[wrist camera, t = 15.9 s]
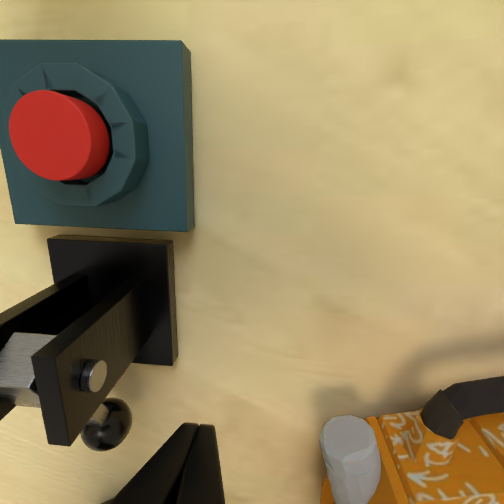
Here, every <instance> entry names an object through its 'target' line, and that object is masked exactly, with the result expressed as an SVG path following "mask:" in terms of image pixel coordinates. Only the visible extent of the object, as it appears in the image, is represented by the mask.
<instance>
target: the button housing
mask: <svg viewBox="0 0 504 504" xmlns="http://www.w3.org/2000/svg"><path fill="white" fill-rule="evenodd" d="M37 90H50V91H54V92H57V93H60V94H63V95H67V96H70V97H73V98H76V99H79V100H81V101H83V102H85V103H87V104H88V105H90V106H91V107H92V108H93V109H94V110H95V111H96V112H97V113H98V114H99V115H100V117H101V118H102V120H103V122H104V124H105V126H106V128H107V131H108V134H109V140H110V149H109V155H108V158H107V161H106V163H105V164H104V166H103V167H102V169H101V170H100V171H99V172H97V173H96V174H95V175H93V176H91V177H88V178H84V179H76V180H64V181H54V180H49V179H45V178H43V177H40V176H39V175H37V174H35V173H34V172H32V171H31V170H30V169H28V168H27V167H26V166H25V165H24V164H23V163H22V161H21V160H20V159H19V157H18V156H17V154H16V152H15V150H14V148H13V145H12V143H11V139H10V133H9V120H10V116H11V112H12V110H13V108H14V106H15V104H16V103H17V102H18V100H19V99H21V98H22V97H23V96H24V95H26V94H28V93H30V92H33V91H37ZM0 147H1V152H2V158H3V163H4V168H5V173H6V178H7V184H8V189H9V194H10V199H11V204H12V209H13V215H14V220H15V224H31V225H52V226H73V227H94V228H115V229H136V230H156V231H177V232H188V231H189V230H190V229H192V228H193V227H194V226H195V223H194V180H193V137H192V94H191V52H190V51H189V49H188V48H187V47H186V46H185V44H184V43H183V42H182V41H176V40H0Z"/></svg>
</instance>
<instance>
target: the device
mask: <svg viewBox="0 0 504 504" xmlns="http://www.w3.org/2000/svg"><path fill="white" fill-rule="evenodd" d="M319 441H320V446H321V451H322V455H323V459H324V463H325V465H326V470H327V475H326V477H325V480H324V482H323V485H322V494H321V503H320V504H504V376H502V377H495V378H488V379H482V380H475V381H468V382H461V383H455V384H453V385H452V386H450V387H448V388H447V389H445V390H444V391H442V390H441V389H440V390H439V391H438V392H437V393H436V394H435V395H434V396H433V397H432V398H431V399H430V400H429V401H428V402H427V403H426V404H425V406H424V408H423V409H422V408H421V409H420V410H417V411H410V412H403V413H396V414H389V415H381V416H380V417H379V418H378V419H376V417H375V416H374V417H367V419H366V420H364V419H361V418H359V417H356V416H353V415H343V416H335V417H333V418H332V419H330V420H329V421H328V422H326V423H325V424H324V425H323V428H322V432H321V435H320V438H319Z"/></svg>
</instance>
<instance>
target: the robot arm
mask: <svg viewBox="0 0 504 504" xmlns="http://www.w3.org/2000/svg"><path fill="white" fill-rule="evenodd" d="M102 504H225V498H224V490H223V483H222V476H221V468H220V461H219V454H218V446H217V439H216V432H215V427H214V425H208V424H200V425H198V424H197V423H183V424H182V425H181V426H180V427H179V428H178V429H177V430H176V431H175V432H174V434H173V435H172V436H171V437H170V438H169V439H168V440H167V441H166V442H165V443H164V444H163V446H162V447H161V448H160V449H159V450H158V451H157V452H156V453H155V454H154V455H153V456H152V457H151V459H150V460H149V461H148V462H147V463H146V464H145V465H144V466H143V467H142V468H141V469H140V470H139V472H138V473H137V474H136V475H135V476H134V477H133V478H132V479H131V480H130V481H129V482H128V484H127V485H126V486H125V487H124V488H123V489H122V490H121V491H120V492H119V493H118V494H117V495H116V497H115V498H113V499H111V500H109V501H107V502H104V503H102Z"/></svg>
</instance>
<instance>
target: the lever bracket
mask: <svg viewBox="0 0 504 504" xmlns="http://www.w3.org/2000/svg"><path fill="white" fill-rule="evenodd" d="M47 243H48V249H49V255H50V262H51V268H52V274H53V280H54V284H53V285H52V286H50V287H48V288H46V289H44V290H42V291H41V292H39V293H37V294H35V295H33V296H31V297H30V298H28V299H26V300H24V301H22V302H20V303H19V304H17V305H15V306H13V307H11V308H9V309H8V310H6V311H4V312H2V313H0V352H1V351H2V349H3V348H4V346H5V345H6V343H7V342H8V340H9V339H10V337H11V336H12V334H13V333H14V332H20V333H33V334H47V335H57V336H56V337H55V338H53V339H52V340H51V341H49V342H48V343H47V344H46V345H44V346H43V347H42V348H41V349H39V350H38V351H37V352H35V353H34V354H33V355H32V356H31V361H32V366H33V371H34V376H35V381H36V386H37V391H38V396H39V400H40V405H41V410H42V415H43V420H44V425H45V430H46V435H47V440H48V444H50V445H61V446H71V444H72V443H73V442H74V440H75V439H76V438H77V436H78V435H79V434H80V432H81V431H82V429H83V428H84V427H85V425H86V424H87V423H88V421H89V420H90V418H91V417H92V416H93V414H94V413H95V412H96V410H97V409H98V407H99V406H100V405H101V403H102V402H103V401H104V399H105V398H106V397H107V395H108V394H109V392H110V391H111V390H112V388H113V387H114V386H115V384H116V383H117V381H118V380H119V379H120V377H121V376H122V375H123V373H124V372H125V370H126V369H127V368H128V366H129V365H130V364H131V363H141V364H154V365H166V366H173V364H174V362H175V361H176V359H177V357H178V351H177V328H176V306H175V283H174V261H173V241H171V240H152V239H132V238H112V237H92V236H72V235H57V236H54V237H51V238H48V239H47ZM15 406H16V405H15V404H14V403H12V402H10V401H8V400H6V399H5V398H3V397H1V396H0V420H1V419H3V418H4V417H5V416H6V415H7V414H8V413H9V412H10V411H11V410H12V409H13V408H14V407H15Z"/></svg>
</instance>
